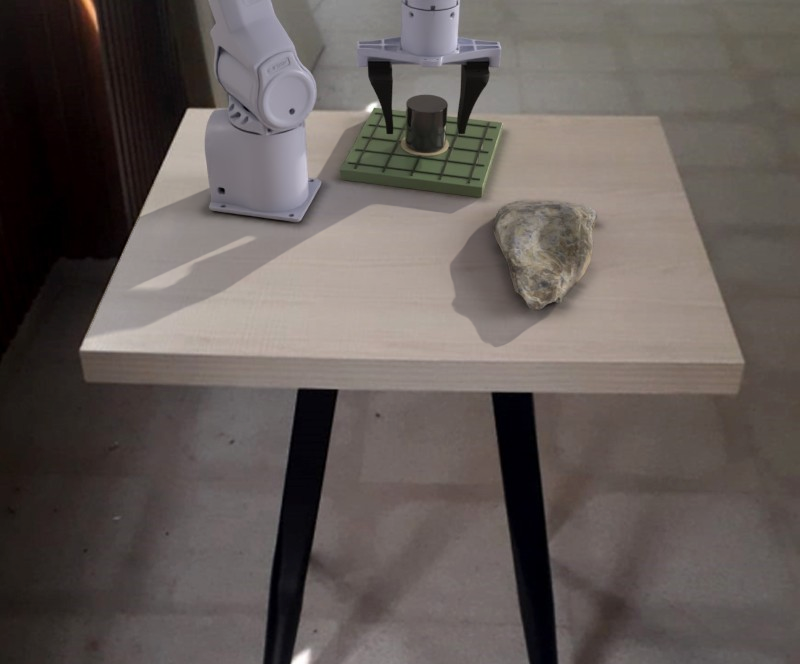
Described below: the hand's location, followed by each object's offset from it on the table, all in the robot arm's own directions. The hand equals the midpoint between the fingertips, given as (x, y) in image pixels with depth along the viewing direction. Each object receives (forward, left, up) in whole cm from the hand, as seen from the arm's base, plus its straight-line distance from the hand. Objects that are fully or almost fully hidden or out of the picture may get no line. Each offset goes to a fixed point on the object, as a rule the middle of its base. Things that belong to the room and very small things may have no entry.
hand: (425, 129), depth 102 cm
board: (0, 0, -3) cm, 3 cm away
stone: (+15, -17, -3) cm, 23 cm away
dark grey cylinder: (0, 0, -2) cm, 2 cm away
